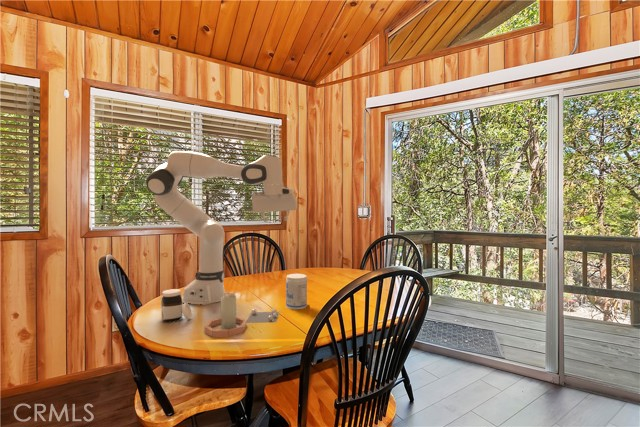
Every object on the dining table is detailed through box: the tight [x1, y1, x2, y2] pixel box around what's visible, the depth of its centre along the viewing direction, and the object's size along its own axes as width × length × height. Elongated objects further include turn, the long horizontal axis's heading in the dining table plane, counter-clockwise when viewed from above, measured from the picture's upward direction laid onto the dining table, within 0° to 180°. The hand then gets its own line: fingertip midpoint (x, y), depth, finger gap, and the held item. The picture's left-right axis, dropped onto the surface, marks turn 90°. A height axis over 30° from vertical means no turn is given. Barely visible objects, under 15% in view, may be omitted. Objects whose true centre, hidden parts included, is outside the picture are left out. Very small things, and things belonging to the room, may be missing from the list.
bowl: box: [203, 316, 248, 338], centre depth 119 cm, size 14×14×3 cm
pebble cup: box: [220, 291, 237, 330], centre depth 120 cm, size 6×6×14 cm
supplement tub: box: [285, 273, 308, 310], centre depth 146 cm, size 10×10×15 cm
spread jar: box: [160, 288, 193, 323], centre depth 131 cm, size 12×11×12 cm
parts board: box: [246, 308, 280, 324], centre depth 131 cm, size 12×12×3 cm
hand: (276, 221), depth 146 cm, fingers open, 8 cm apart
